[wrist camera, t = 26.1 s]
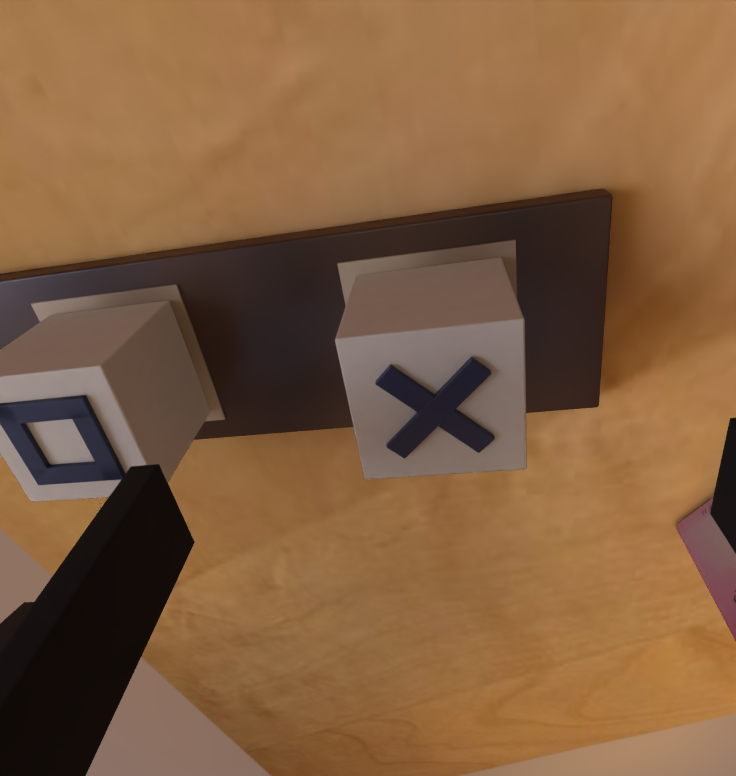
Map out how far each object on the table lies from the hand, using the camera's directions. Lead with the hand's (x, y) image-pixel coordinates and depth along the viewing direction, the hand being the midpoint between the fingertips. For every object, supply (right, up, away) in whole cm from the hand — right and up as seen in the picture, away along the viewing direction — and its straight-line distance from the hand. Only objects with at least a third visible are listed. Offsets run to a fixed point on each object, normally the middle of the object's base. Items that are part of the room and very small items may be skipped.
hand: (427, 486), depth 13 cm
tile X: (+1, +4, +7) cm, 8 cm away
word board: (-5, +4, +9) cm, 11 cm away
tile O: (-11, +3, +9) cm, 14 cm away
